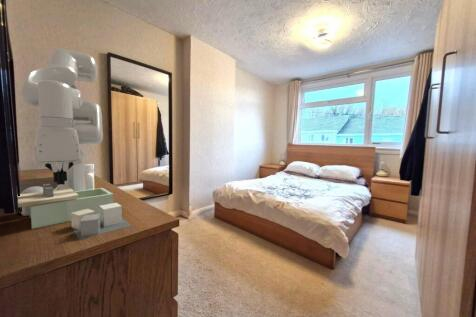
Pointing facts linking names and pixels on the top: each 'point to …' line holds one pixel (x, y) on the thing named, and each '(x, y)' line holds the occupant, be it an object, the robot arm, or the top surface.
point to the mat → (104, 229)
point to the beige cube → (79, 217)
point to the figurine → (89, 176)
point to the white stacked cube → (110, 214)
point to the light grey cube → (90, 225)
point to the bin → (68, 207)
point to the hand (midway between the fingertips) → (60, 183)
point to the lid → (46, 196)
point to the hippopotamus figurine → (31, 190)
